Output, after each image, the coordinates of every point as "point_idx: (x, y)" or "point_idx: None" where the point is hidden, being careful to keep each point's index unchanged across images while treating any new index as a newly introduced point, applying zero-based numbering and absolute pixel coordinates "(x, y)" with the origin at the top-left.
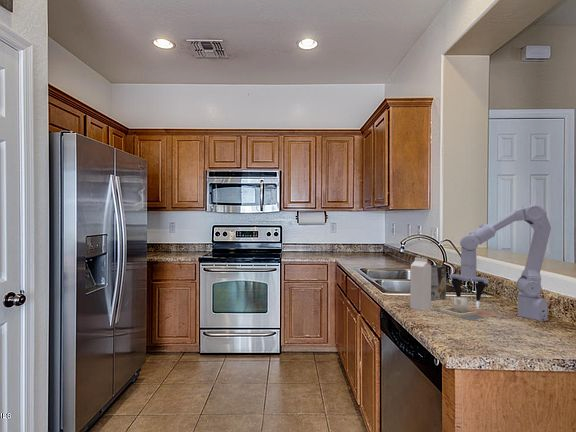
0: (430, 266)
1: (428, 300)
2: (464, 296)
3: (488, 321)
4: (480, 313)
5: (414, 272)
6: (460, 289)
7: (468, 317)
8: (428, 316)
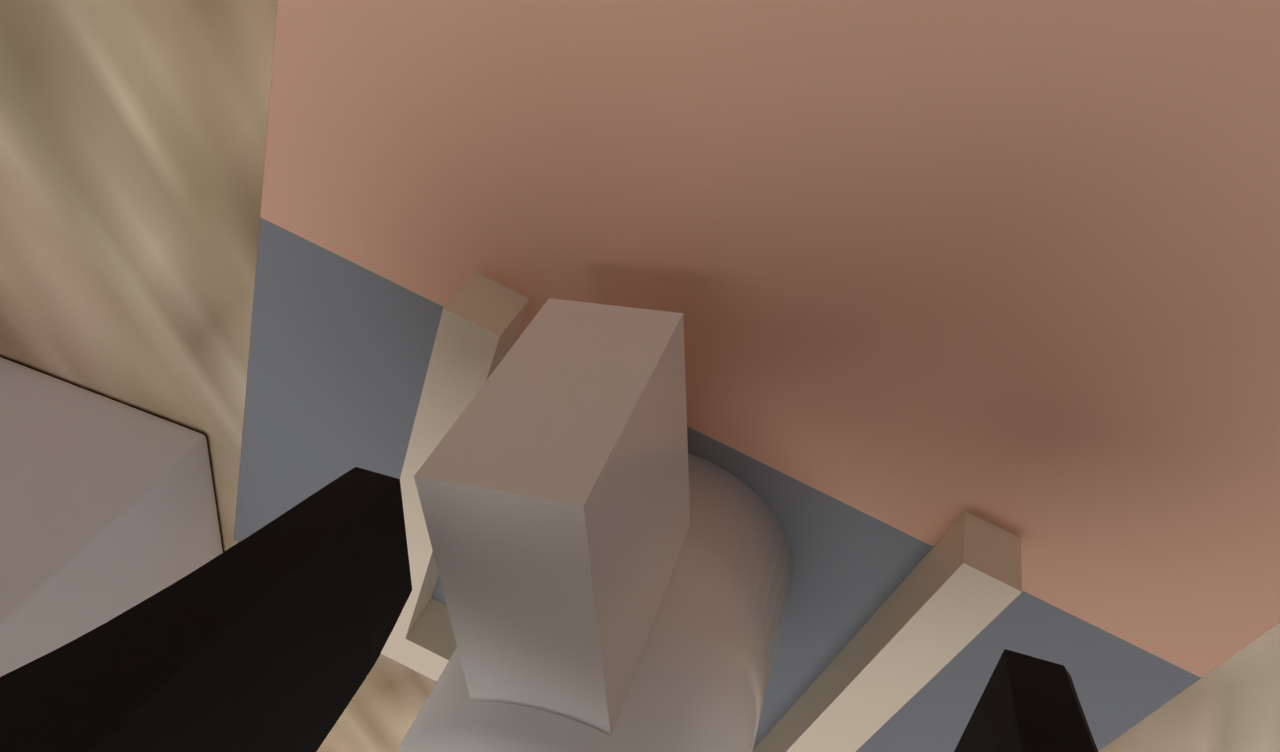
0: None
1: (73, 634)
2: (488, 494)
3: (1236, 699)
4: (1066, 410)
5: None
6: (206, 658)
7: None
8: (377, 704)
